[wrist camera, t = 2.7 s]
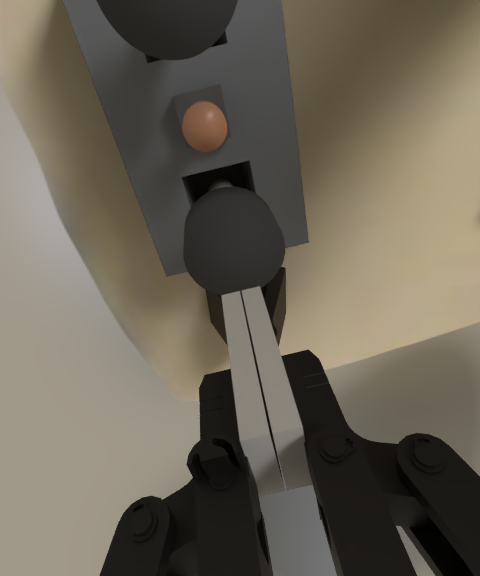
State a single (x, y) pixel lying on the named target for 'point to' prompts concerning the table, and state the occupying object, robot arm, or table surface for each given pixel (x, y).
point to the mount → (166, 127)
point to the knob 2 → (232, 240)
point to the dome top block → (203, 118)
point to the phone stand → (273, 300)
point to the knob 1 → (169, 24)
